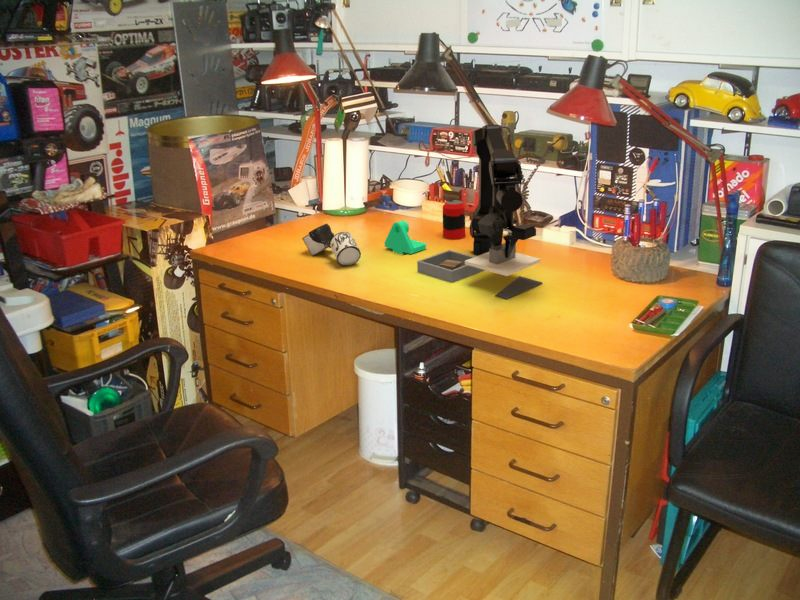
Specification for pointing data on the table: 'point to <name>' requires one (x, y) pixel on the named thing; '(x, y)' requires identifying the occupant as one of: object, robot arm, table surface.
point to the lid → (502, 261)
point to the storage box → (433, 269)
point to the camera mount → (402, 239)
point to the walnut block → (451, 264)
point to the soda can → (453, 220)
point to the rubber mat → (518, 287)
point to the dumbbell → (333, 244)
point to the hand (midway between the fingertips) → (502, 256)
